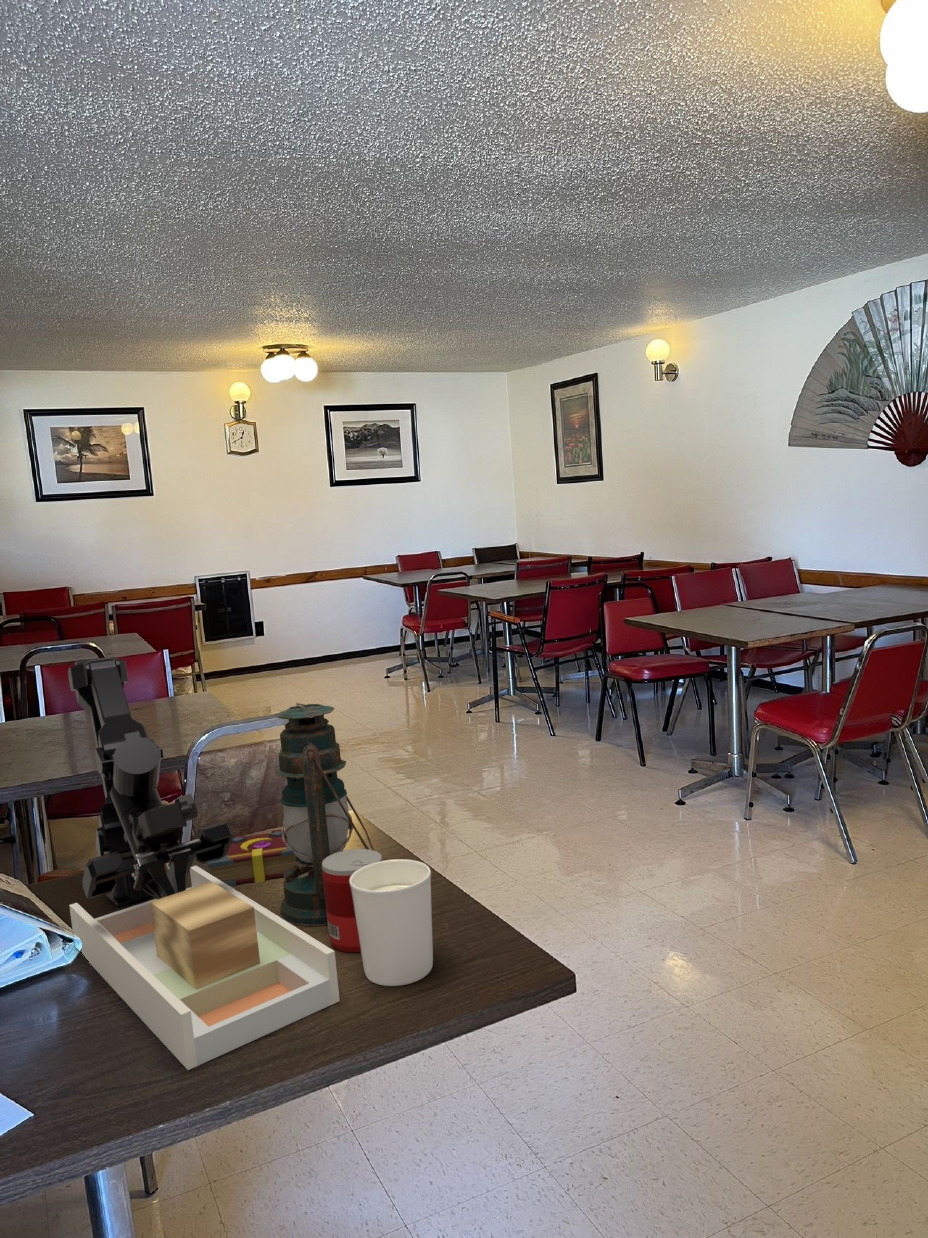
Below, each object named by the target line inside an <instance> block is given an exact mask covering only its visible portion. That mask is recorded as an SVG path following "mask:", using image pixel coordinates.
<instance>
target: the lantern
mask: <svg viewBox="0 0 928 1238" xmlns="http://www.w3.org/2000/svg"><path fill="white" fill-rule="evenodd" d="M334 709H335V707H333V706H331V705H330V706H329V705H323V704H320V703H319V704H318V703H308V704H304V703H298V702H297V703H295V706H290V707H289V708H287V709H285V710H282V711H280V712H278V713H276V717H277V718H278V719H282V720H283V719H284V720H288V722H286V723H285V724H284V729H283V730H282V731H281V732H280V734H279V740H280V750H279V753H278V764H279V765H278V766H279V769H277V770H275V774H276V775H277V776H278V777H283V778H286V783H287V784H286V785H285V786H284V788H283V789H282V790H281V796H282V798H280V803H281V804H282V806H283V822H282V825H281V832H282V840H283V841H284V843H285V845H286V846H287V847H288V848H289V849H290V850H292V851H293V852H294V854H295V855H296V856H297V857H296V858H295V861H296V863H297V864H298V865H300V866H303V867H302V868H300V869H299V867H298V866H294V867H292V868H291V869H289V870H288V871H287V872H286V873H285V874H284V876H282V877H283V878H284V881H283V883H282V884H283V885H282V887H283V896H284V898H283V899H282V901H281V902H280V913H279V914H280V916H281V917H280V918H282V919H283V920H285V921H287V922H288V923H290V924H291V925H293V926H302V927H320V926H328V922H327V912H326V903H325V894H324V884H323V873H322V862H323V860H324V859H325V858H326V857H328V856H330V855H332V854H335V853H337V852H341V851H344V849H345V848H346V847H347V843H348V842H349V841H350V839H351V836H352V833H353V830H354V832H355V834H356V835H357V837H358V839H359V840H360V842H361V844H362V845H363V846H364V849H367V850H370V848H371V850H373V851H376V849H375V848H374V846H373V843H372V841H371V838H370V836H369V833H368V832H367V829H366V828H365V825H364V823H363V822H362V819H361V817H360V816H359V814H358V812H357V810H356V809H355V808H354V805H353V804H352V802H351V801H350V799H349V797H348V792H347V789H345V783H344V781H343V779H341V778H339V777H338V772H339V771H340V770H342V769H344V768H345V767H346V764H347V760H343V759H342V757H341V750H340V749H341V748H340V743H338V742H337V739H336V729H335V727H334V726H333V725H332V724H329V722H330V721H329V720H328V719H327V718H326V717H325V715H328V714H331V713H333V711H334ZM348 804H349V806H348ZM349 807H350V809H351V810H352V811H353V813H354V815H355V817H356V819H357V820H358V822H359V824H360V825H361V827H362V829H363V832H364V833H365V835H366V838H367V841H368V844H369V846H370V848H369V847H368V845H367V843H366V841H365V839H363V837H362V836H361V834H360V832H359V831H358V828H357V827H356V826H355V824H354V821H353V817H352V815H351V813H350V811H349ZM283 831H284V832H283ZM283 833H284V835H283ZM285 838H286V839H287V840H288V844H289V845H288V844H287V842H286V840H285ZM297 861H299V862H300V863H301V864H300V863H298V862H297ZM303 864H306V865H303Z"/></svg>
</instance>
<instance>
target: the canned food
mask: <svg viewBox="0 0 928 1238" xmlns="http://www.w3.org/2000/svg"><path fill="white" fill-rule="evenodd" d="M381 861H384V860H383V857H382V855H381V853H380V852H378V851H376V850H375V851H373V850H372V849H369V850H367V849H366V848H354V849H346V850H343V851H341V852H337V853H335V854H332V855H330V856H328V857H326V858H325V859H324V860H323V862H322V873H323V884H324V894H325V903H326V912H327V922H328V925H327V931H328V938H329V941H330V943H331V945H332V947H333V948H335V949H336V950H338V951H340V952H344V953H361V948H360V942H359V936H358V929H357V923H356V917H355V910H354V904H353V898H352V892H351V887H350V883H349V880H350V877H351V875H352V874H353V873H354V872H355V871H357V870H358V869H360V868H362V867H364V866H367V865H369V864H373V863H376V862H381Z"/></svg>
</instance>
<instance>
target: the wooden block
mask: <svg viewBox="0 0 928 1238" xmlns="http://www.w3.org/2000/svg"><path fill="white" fill-rule="evenodd" d="M150 903H151V912H152V920H153V928H154V936H155V944H156V952H157V956H158V957H159V958H160V959H161V960H162V961H163V962H165V963H166V964H167V965H168V966H169V967H170V968H172V969H173V970H174V971H175V972H176V973H177V974H179V975H180V976H181V977H182V978H183V979H184V980H186V981H187V982H188V983H189V984H190V985H191V986H193V987H194V988H195V989H199V988H201V987H204V986H206V985H209V984H211V983H214V982H216V981H219V980H221V979H223V978H226V977H228V976H231V975H233V974H236V973H238V972H241V971H243V970H246V969H248V968H250V967H253V966H255V965H258V964H260V957H259V948H258V939H257V930H256V921H255V912H254V907H253V906H251V905H249V904H248V903H246V902H244V901H243V900H241V899H239V898H238V897H236V896H234V895H233V894H231V893H230V892H228V891H226V890H225V889H223V888H221V887H220V886H218V885H216V884H215V883H213V882H209V883H206V884H203V885H200V886H197V887H194V888H191V889H188V890H185V891H182V892H179V893H176V894H173V895H170V896H167V897H164V898H161V899H158V900H155V901H152V902H150Z"/></svg>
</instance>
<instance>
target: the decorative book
mask: <svg viewBox="0 0 928 1238" xmlns="http://www.w3.org/2000/svg"><path fill="white" fill-rule="evenodd" d="M284 831H285V830H284ZM284 831H283V832H284ZM283 835H284V833H283ZM285 840H286V842H287V844H288V840H287V839H286V838H285ZM288 845H289V844H288ZM296 857H297V856H296V855H295V854H294V852H293V851H292V850H290V849H289V848H288V847H287V846H286V845H285V843H284V841H283V840H282V832H281V829H273V830H271V832H269V833H268V832H267V833H262V834H255V835H249V836H245V834H242V835H241V834H240V835H234V837H233V840H232V842H231V845H230V847H229V849H228V852H227V854H226V856H224V857H223V858H221V859H218V860H215V861H212V862H209V863H207V867H208V869H211V868H212V873H213V875H212V876H214V877H216V878H217V879H219V880H220V881H222V882H224V883H225V884H227V885H228V886H230V887H233V886H236V885H237V884H238V885H239V884H243V883H250V882H251V883H252V882H254V883H255V884H256V883H257V884H258V883H262V882H266V880H268V879H275V878H281V877H283V876H284V874H285V873H286V872H287V871H288V870H289V869H291V868H292V867H294V866H298V867H299V869H300V868H302V867H303V866H300V865H298V864H297V863H296V861H295V858H296ZM297 862H298V863H300V862H299V861H297ZM300 864H301V863H300ZM303 865H306V864H303Z"/></svg>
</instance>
